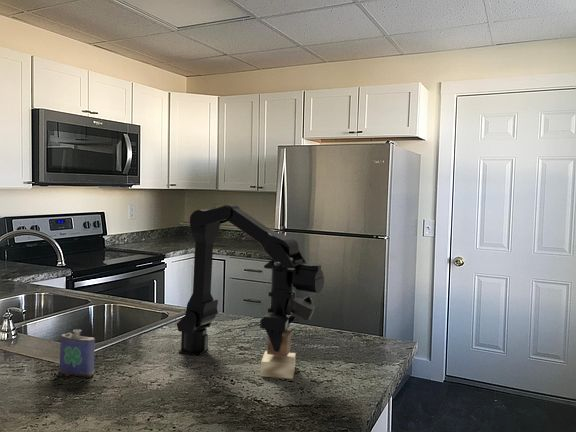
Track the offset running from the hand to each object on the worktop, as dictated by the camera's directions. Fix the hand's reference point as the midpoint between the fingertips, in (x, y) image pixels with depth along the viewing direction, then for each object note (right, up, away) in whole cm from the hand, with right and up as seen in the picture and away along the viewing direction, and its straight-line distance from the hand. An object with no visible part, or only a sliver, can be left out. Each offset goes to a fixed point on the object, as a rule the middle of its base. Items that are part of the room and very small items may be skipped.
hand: (279, 348), depth 124 cm
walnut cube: (0, -1, 0) cm, 1 cm away
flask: (-49, -4, -7) cm, 49 cm away
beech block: (0, -6, 0) cm, 6 cm away
